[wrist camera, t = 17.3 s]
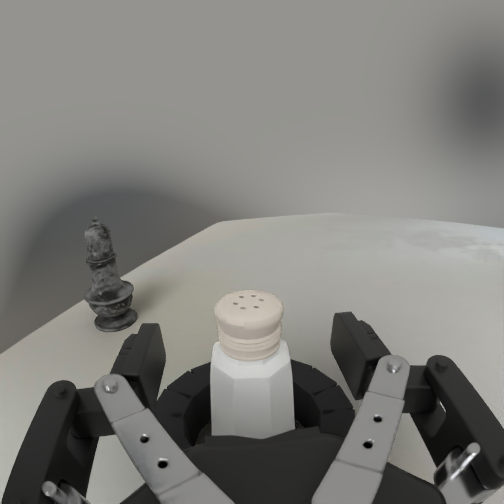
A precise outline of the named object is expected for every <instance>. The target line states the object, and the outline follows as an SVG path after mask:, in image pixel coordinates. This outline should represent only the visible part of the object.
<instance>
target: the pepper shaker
mask: <svg viewBox="0 0 504 504" xmlns="http://www.w3.org/2000/svg"><path fill="white" fill-rule="evenodd" d="M283 311H284V307H283V303H282V302H281V301H280V300H279V299H278V298H277V297H276V296H274V295H273V294H270V293H268V292H264V291H258V290H243V291H236V292H233V293H229V294H227V295H225V296H223V297H222V298H221V299H219V301H218V302H217V303H216V305H215V307H214V314H215V317H216V320H217V322H218V326H217V329H218V337H219V340H220V341H218V342H216V343H215V344H214V345H213V350H212V357H211V371H210V389H211V425H212V436H222V435H235V436H242V437H249V438H257V439H265V438H268V437H271V436H275V435H278V434H281V433H284V432H287V431H290V430H295V420H294V399H293V381H292V369H291V361H290V355H289V350H288V346H287V342H286V341H284V340H282V339H280V337H281V327H282V325H281V319H282V316H283Z"/></svg>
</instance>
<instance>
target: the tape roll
mask: <svg viewBox="0 0 504 504" xmlns="http://www.w3.org/2000/svg"><path fill="white" fill-rule="evenodd" d="M290 361H291V369H292V381H293V399H294V418H295V419H296V420H298V421H299V422H300V423H301V424H302V425H303V426H305V427H306V428H309V427H315V426H318V427H319V430H320V433H323V434H331V435H336V436H339V437H342V438H346V436H347V434H348V432H349V430H350V428H351V426H352V423H353V421H354V419H355V410H354V409H353V406H352V404H351V403H350V401H349V399H348V398H347V396H346V395H345V393H344V392H343V390H342V389H341V387H340V386H339V385H337V383H336V382H335V381H333V380H332V379H330V378H329V377H328V376H326V375H325V374H323V373H322V372H320V371H319V370H317V369H316V368H313V369H312V366H310V365H307V364H304V363H301V362H298V361H295V360H291V359H290ZM210 371H211V362H209V363H206V364H204V365H201V366H199V367H196V368H193V369H191V372H190V371H187V372H186V373H184V374H183V375H182V376H181V377H179V378H178V379H177V380H175V381H174V382H173V383H171V384H170V385H169V386H167V389H164V391H163V392H162V394H161V396H160V397H159V399H158V400H157V402H156V405H155V410H154V414H153V415H154V416H155V418H156V419H157V420H158V422H159V423H160V424H161V426H162V427H163V428H164V430H165V431H166V432H167V433H168V435H169V436H170V437H171V438H172V440H173V441H174V442H175V443H176V444H177V446H178V447H179V448H180V449H181V450H182V451H184V450H186V449H188V448H190V447H193V446H194V444H195V442H196V439H197V437H198V434H199V432H200V430H201V429H202V428H203V427H204V426H205V425H206V424H207V423H208V422H209V421H210V420H211V389H210ZM336 385H337V386H336Z"/></svg>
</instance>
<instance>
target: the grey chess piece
mask: <svg viewBox="0 0 504 504" xmlns="http://www.w3.org/2000/svg"><path fill="white" fill-rule="evenodd" d="M92 220H93V224H92V225H91V226H89V227H88V228H87V229H86V231H85V241H86V247H87V252H88V257H89V258H88V259H87V260H86V263H87V264H88V265H90V270H91V275H92V280H93V284H92V288H90V289H89V290H87V292H86V293H85V296H84V298H85V301H86V302H88V303H89V306H90V307H91V309H92V310H93V311H94V312H95V313H96V314H98V316H97V317H96V319H95V322H94V324H95V326H96V328H97V329H99V330H101V331H105V332H114V331H120V330H122V329H125V328H127V327H129V326H131V325H132V324H133V323H134V322H135V321H136V319H137V313H136V312H135V310H133V309H131V308H129V306H130V305H131V302H132V297H133V296H132V292H133V290H134V287H133V285H132V284H131V283H130V282H128V281H123V280H121V279H120V277H119V275H118V271H117V266H116V261H115V260H116V258H117V254H115V253H113V248H112V242H111V235H110V230H109V228H108V227H107V226H106V225H104V224H100V223H99V222H97V220H98V218H97V217H96V216H95V215H94V217H93V219H92Z"/></svg>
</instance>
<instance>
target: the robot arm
mask: <svg viewBox="0 0 504 504" xmlns="http://www.w3.org/2000/svg"><path fill="white" fill-rule="evenodd" d="M330 344H331V351H332V354H333V356H334V358H335V360H336V362H337V364H338V366H339V368H340V370H341V372H342V374H343V376H344V378H345V380H346V382H347V384H348V386H349V389H350V391H351V393H352V395H353V397H354V399H355V400H360V399H363V401H362V403H361V405H360V408H359V410H358V412H357V414H356V417H355V419H354V421H353V423H352V426H351V428H350V430H349V432H348V434H347V436H346V438H342V437H339V436H336V435H331V434H323V433H320V430H319V427H318V426H315V427H309V428H302V429H295V430H290V431H287V432H284V433H281V434H278V435H275V436H271V437H268V438H265V439H257V438H249V437H242V436H235V435H222V436H204V443H203V444H199V445H196V446H193V447H190V448H188V449H186V450H184V451H182V450H181V449H180V448H179V447H178V446H177V444H176V443H175V442H174V441H173V440H172V438H171V437H170V436H169V435H168V433H167V432H166V431H165V430H164V428H163V427H162V426H161V424H160V423H159V422H158V420H157V419H156V418H155V416H154V415H153V414H154V410H155V405H156V401H157V396H158V392H159V388H160V383H161V379H162V375H163V371H164V367H165V362H166V353H165V348H164V343H163V339H162V334H161V330H160V326H159V324H158V323H143V324H142V325H141V327H140V329H139V331H138V334H131V335H130V336H129V337H128V338H127V339H126V340H125V341H124V343H123V345H122V349H121V350H120V352H119V355H118V356H117V358H116V361H115V363H114V365H113V367H112V370H111V372H110V374H108V375H105V376H103V377H101V378H100V379H98V380H97V381H96V383H95V385H94V387H92V388H85V389H76V387H75V385H74V384H73V383H72V382H70V381H67V380H61V381H57V382H55V383H53V384H52V385H51V386H50V387H49V388H48V389H47V391H46V393H45V395H44V397H43V399H42V401H41V403H40V405H39V407H38V410H37V412H36V414H35V416H34V418H33V420H32V422H31V425H30V427H29V429H28V431H27V434H26V436H25V438H24V441H23V443H22V445H21V448H20V450H19V453H18V455H17V458H16V460H15V463H14V466H13V468H12V471H11V474H10V477H9V480H8V482H7V485H6V488H5V492H4V495H3V498H2V504H91V503H90V502H89V501H88V500H87V499H86V493H87V488H88V483H89V478H90V474H91V469H92V465H93V460H94V456H95V452H96V448H97V444H98V440H99V437H100V436H108V435H115V434H116V435H117V437H118V439H119V440H120V442H121V444H122V446H123V447H124V449H125V451H126V452H127V454H128V456H129V457H130V459H131V461H132V462H133V464H134V465H135V467H136V468H137V470H138V471H139V473H140V474H141V476H142V477H143V479H144V480H145V482H146V483H144V484H143V485H142V486H141V487H140V488H138V489H137V490H136V491H135V492H134V493H132V494H131V495H130V496H129V497H127V498H126V499H125V500H124V501H122V502H121V503H120V504H481V503H483V502H484V501H485V500H486V499H488V498H489V497H490V496H491V495H492V494H494V493H495V492H496V491H497V490H498V489H499V488H501V487H502V486H503V485H504V429H503V427H502V426H501V424H500V423H499V421H498V420H497V419H496V417H495V416H494V414H493V413H492V411H491V410H490V409H489V407H488V406H487V405H486V403H485V402H484V400H483V399H482V398H481V396H480V395H479V394H478V392H477V391H476V390H475V388H474V387H473V386H472V385H471V383H470V382H469V381H468V379H467V378H466V377H465V376H464V374H463V373H462V372H461V370H460V369H459V368H458V367H457V366H456V364H455V363H454V362H453V361H452V360H451V359H450V358H448V357H446V356H442V355H435V356H432V357H430V358H429V359H428V361H427V364H426V366H411V365H409V363H408V361H407V360H406V359H404V358H402V357H400V356H397V355H392V354H391V353H390V352H389V350H388V349H387V348H386V346H385V345H384V344H383V342H382V341H381V340H380V339H379V337H378V336H377V334H376V333H375V332H374V330H373V329H372V328H371V326H370V325H368V324H367V323H365V322H364V321H362V320H361V321H358V320H357V319H356V317H355V316H354V315H353V313H352V312H342V313H335V315H334V319H333V326H332V334H331V342H330ZM440 401H441V403H442V405H443V406H444V408H445V410H446V413H445V411H444V409H443V408H442V406H441V405H440ZM402 413H410V415H411V417H412V419H413V421H414V423H415V425H416V427H417V429H418V431H419V433H420V435H421V437H422V439H423V441H424V443H425V445H426V447H427V449H428V451H429V453H430V455H431V457H432V459H433V461H434V463H435V465H436V467H437V469H436V470H435V473H434V483H435V484H434V485H433V484H431V483H429V482H427V481H425V480H423V479H421V478H418V477H416V476H414V475H412V474H410V473H408V472H406V471H404V470H402V469H400V468H398V467H396V466H394V465H392V464H390V463H388V462H387V460H388V457H389V454H390V451H391V448H392V445H393V442H394V439H395V435H396V432H397V429H398V425H399V422H400V418H401V414H402Z"/></svg>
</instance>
